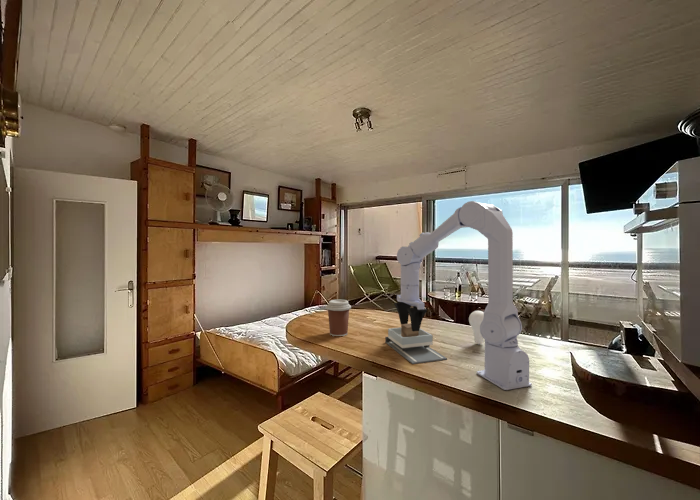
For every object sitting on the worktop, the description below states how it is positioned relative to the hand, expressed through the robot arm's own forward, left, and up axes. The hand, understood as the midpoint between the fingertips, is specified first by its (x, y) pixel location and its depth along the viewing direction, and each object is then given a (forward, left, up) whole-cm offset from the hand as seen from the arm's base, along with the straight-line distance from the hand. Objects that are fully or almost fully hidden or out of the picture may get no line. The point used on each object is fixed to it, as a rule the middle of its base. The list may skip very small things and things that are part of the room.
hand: (409, 327), depth 95 cm
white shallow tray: (0, 0, -6) cm, 6 cm away
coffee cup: (+20, +18, -7) cm, 28 cm away
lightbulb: (-4, -23, -7) cm, 24 cm away
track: (-3, 0, -6) cm, 7 cm away
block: (0, 0, -3) cm, 3 cm away
